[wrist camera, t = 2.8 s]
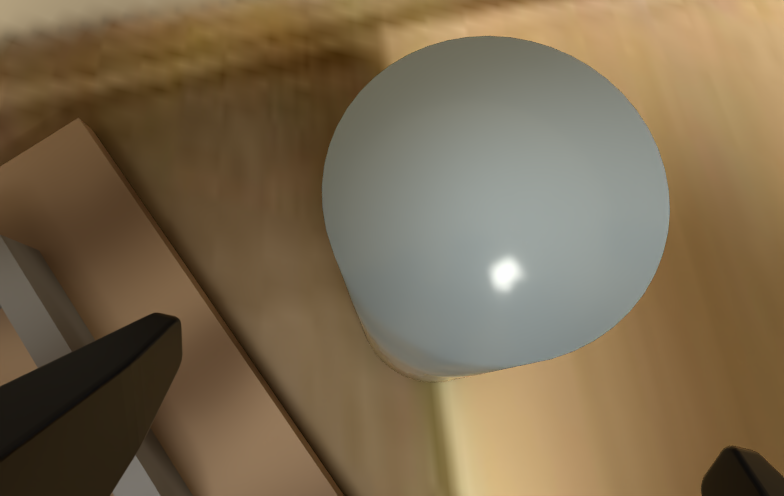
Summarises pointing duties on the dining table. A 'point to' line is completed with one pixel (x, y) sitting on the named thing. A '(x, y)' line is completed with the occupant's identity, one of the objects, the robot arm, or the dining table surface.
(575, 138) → the ceramic canister
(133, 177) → the dining table surface
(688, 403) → the dining table surface
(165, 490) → the collar board
